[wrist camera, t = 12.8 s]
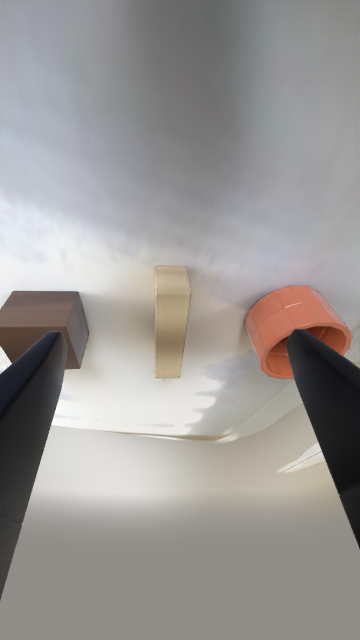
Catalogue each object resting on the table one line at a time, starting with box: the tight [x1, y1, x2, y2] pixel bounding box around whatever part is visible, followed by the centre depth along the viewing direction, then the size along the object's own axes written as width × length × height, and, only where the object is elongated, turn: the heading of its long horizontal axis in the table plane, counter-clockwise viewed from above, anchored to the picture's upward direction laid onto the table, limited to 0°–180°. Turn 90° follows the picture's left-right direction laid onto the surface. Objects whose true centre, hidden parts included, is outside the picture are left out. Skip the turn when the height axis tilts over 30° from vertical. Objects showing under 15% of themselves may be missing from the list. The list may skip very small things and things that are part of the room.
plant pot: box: [245, 286, 352, 379], centre depth 24 cm, size 8×8×6 cm
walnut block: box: [0, 291, 89, 369], centre depth 22 cm, size 6×6×4 cm
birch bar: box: [155, 266, 191, 379], centre depth 23 cm, size 11×3×4 cm, turn 176°
